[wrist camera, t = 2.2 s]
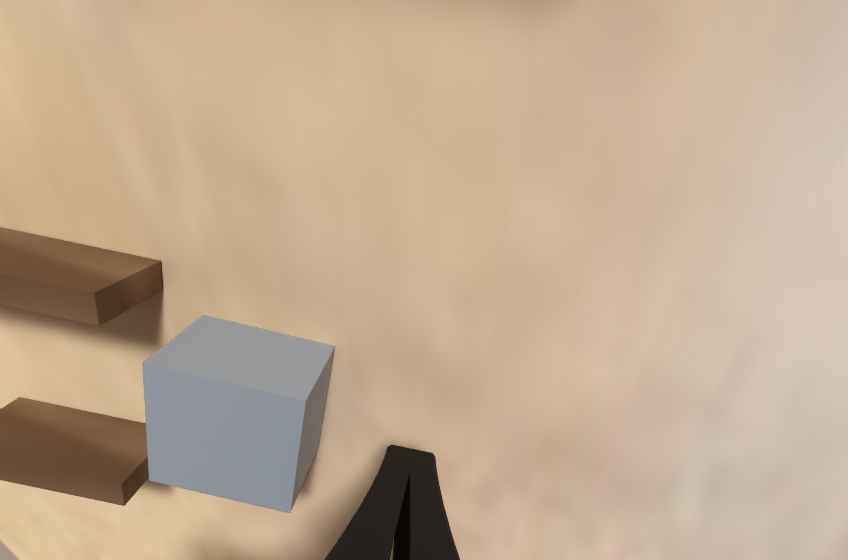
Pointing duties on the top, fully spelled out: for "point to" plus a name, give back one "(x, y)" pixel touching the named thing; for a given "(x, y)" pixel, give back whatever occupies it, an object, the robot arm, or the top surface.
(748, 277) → the top surface
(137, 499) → the top surface
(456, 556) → the robot arm
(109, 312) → the channel
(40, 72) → the top surface
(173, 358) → the block
